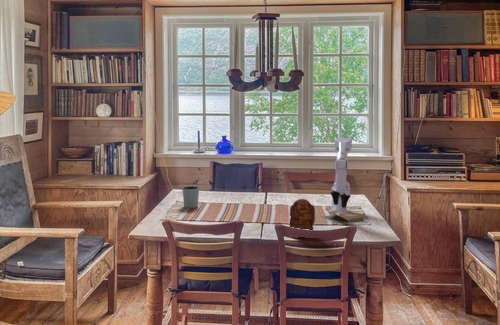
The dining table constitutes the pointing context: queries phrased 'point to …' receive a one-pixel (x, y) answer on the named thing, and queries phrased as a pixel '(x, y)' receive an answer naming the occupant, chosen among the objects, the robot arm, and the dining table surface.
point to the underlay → (337, 219)
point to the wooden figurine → (302, 214)
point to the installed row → (352, 216)
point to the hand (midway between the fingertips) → (339, 206)
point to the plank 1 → (329, 210)
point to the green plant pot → (190, 196)
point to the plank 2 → (341, 215)
